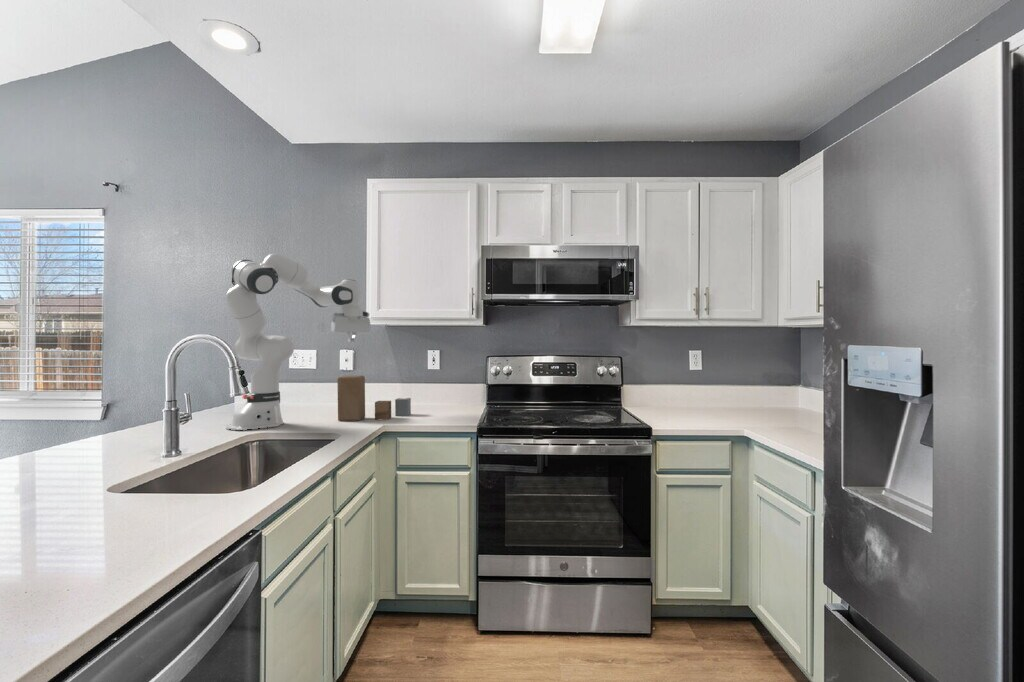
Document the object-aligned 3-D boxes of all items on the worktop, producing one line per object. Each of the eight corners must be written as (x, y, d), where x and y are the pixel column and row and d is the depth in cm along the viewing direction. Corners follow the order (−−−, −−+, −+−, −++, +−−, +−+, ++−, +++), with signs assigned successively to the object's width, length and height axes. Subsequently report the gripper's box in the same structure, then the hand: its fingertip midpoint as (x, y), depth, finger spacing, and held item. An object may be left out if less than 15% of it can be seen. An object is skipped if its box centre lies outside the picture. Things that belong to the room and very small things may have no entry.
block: (359, 421, 233) (358, 377, 233) (337, 421, 233) (336, 377, 233) (365, 417, 243) (365, 375, 243) (344, 417, 243) (344, 375, 243)
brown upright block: (387, 419, 237) (387, 401, 237) (374, 419, 237) (374, 401, 237) (391, 417, 243) (391, 400, 243) (378, 417, 243) (378, 400, 243)
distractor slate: (407, 416, 246) (407, 399, 246) (395, 416, 247) (395, 399, 247) (410, 414, 252) (410, 397, 252) (398, 414, 253) (398, 397, 253)
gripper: (335, 312, 240) (336, 342, 241) (372, 313, 257) (372, 341, 257) (328, 313, 244) (328, 342, 245) (364, 313, 260) (364, 341, 261)
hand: (351, 341), depth 251 cm, fingers closed
